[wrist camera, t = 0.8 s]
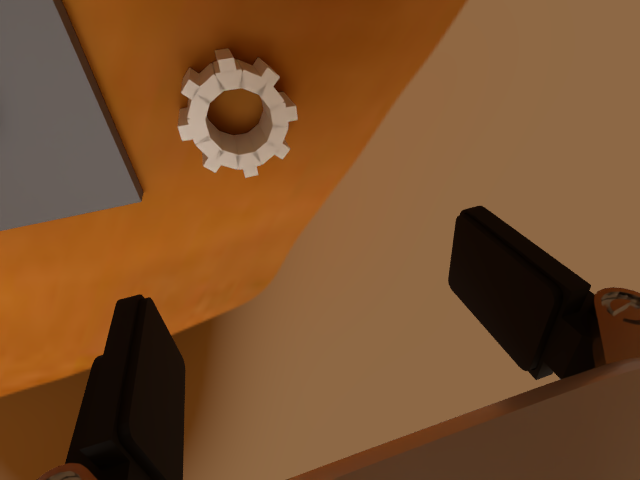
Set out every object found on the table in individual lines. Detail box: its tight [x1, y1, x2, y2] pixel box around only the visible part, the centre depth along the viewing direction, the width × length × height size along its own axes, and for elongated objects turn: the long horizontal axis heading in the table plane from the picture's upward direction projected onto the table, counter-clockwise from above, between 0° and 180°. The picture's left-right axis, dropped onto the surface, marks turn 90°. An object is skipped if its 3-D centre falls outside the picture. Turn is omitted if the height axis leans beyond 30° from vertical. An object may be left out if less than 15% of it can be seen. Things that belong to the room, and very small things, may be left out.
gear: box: [178, 48, 298, 178], centre depth 24 cm, size 7×7×4 cm
